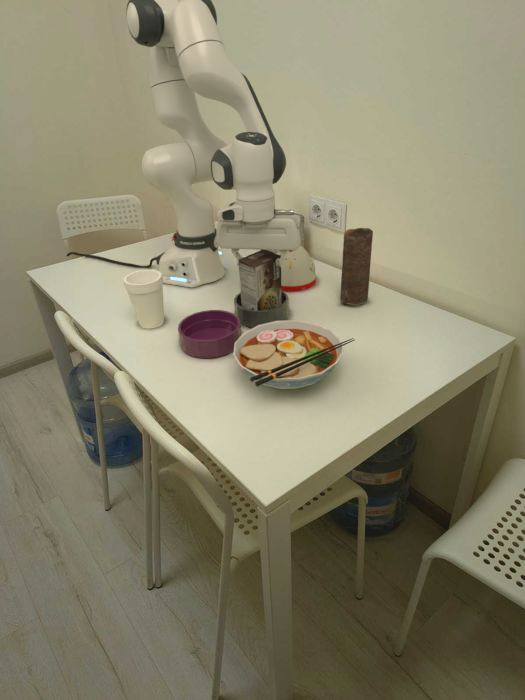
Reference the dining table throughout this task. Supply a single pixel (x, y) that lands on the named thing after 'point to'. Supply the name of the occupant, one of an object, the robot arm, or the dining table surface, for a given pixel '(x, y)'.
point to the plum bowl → (209, 333)
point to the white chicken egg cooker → (297, 270)
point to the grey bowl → (261, 313)
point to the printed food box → (260, 281)
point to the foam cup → (146, 296)
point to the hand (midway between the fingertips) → (260, 265)
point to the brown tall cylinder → (356, 265)
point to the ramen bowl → (288, 353)
